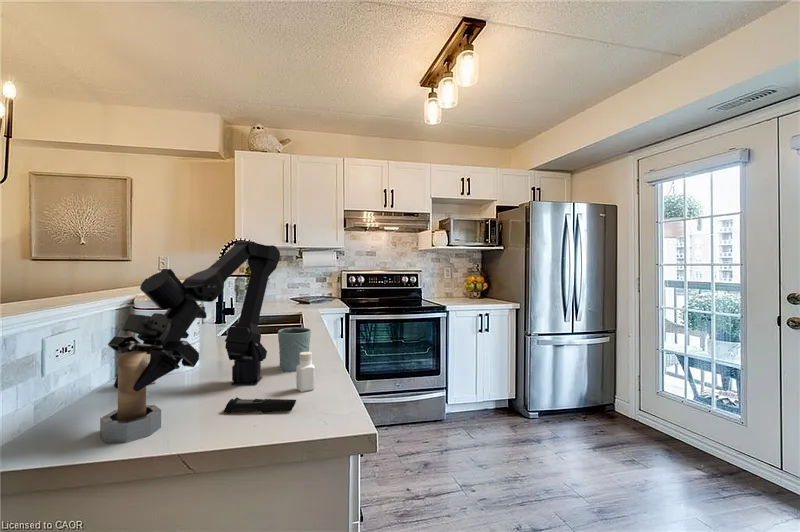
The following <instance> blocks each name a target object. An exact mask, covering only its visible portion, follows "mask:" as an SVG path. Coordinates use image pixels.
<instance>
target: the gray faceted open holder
mask: <svg viewBox="0 0 800 532" xmlns="http://www.w3.org/2000/svg"><path fill="white" fill-rule="evenodd" d="M99 419H100V420H99V421H100V423H99V428H100V429H99V438H101V440H102V441H103V442H104V443H105V444H113V443H118V444H119V443H129V442H133V441H136V440H140V439H142V438H146V437H150V436H152V435H153V434H154V433H156V432H157V431H158V430H159V429H161V428H162V409H161V408H160V407H159V406H157V405H155V404H146V416H144V417H140V418H136V419H132V420H126V421H118V409H114V410H112V411H110V412H109V413H107V414H105V415H103V416H102V417H100V418H99Z"/></svg>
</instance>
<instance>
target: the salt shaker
mask: <svg viewBox="0 0 800 532" xmlns="http://www.w3.org/2000/svg"><path fill="white" fill-rule="evenodd" d="M312 360H313V353H312V351H309V352H301V353H300V360H299V361H300V365H298V366H297V367H296V371H295V372H296V375H295V377H296V380H295V381H296V382H295V383H296V385H295V387H296V389H297V390H298V391H299V392H301V393H303V392H308V391H314V390H315V387H316V380H315V379H316V376H315V375H316V370H315V369H316V367H315V365H314V364H312V363H313V362H312Z"/></svg>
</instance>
